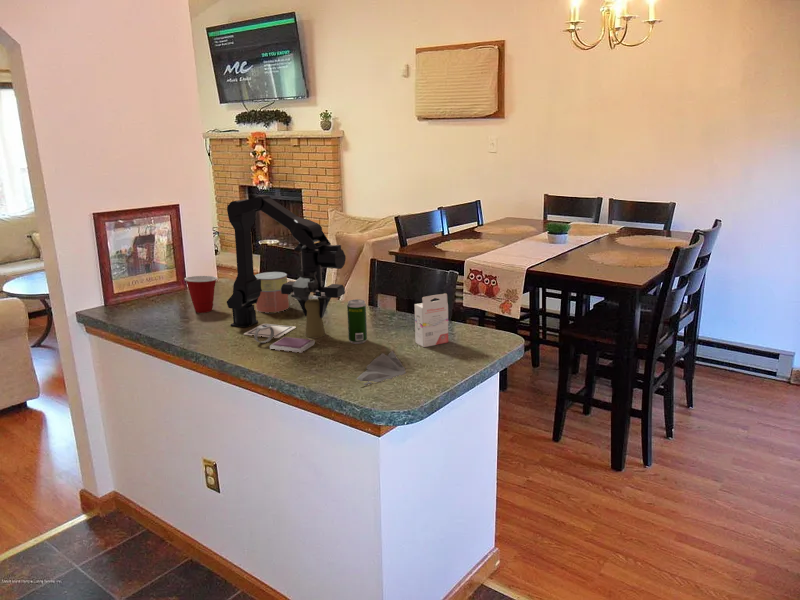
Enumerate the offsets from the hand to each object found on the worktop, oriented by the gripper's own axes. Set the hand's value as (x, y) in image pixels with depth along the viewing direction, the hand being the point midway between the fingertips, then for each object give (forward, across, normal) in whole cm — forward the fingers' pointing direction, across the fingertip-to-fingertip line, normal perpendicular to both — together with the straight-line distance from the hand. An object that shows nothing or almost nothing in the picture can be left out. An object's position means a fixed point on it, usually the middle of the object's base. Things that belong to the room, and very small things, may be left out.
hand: (314, 317), depth 188 cm
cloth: (+6, +30, -21) cm, 37 cm away
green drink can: (+6, +15, -2) cm, 16 cm away
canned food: (+6, -28, +22) cm, 36 cm away
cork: (+6, 0, 0) cm, 6 cm away
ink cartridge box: (+6, +36, +3) cm, 37 cm away
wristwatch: (+6, -11, -11) cm, 16 cm away
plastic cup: (+6, -50, +13) cm, 52 cm away
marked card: (+6, -15, -1) cm, 16 cm away
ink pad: (+6, -1, -12) cm, 13 cm away
